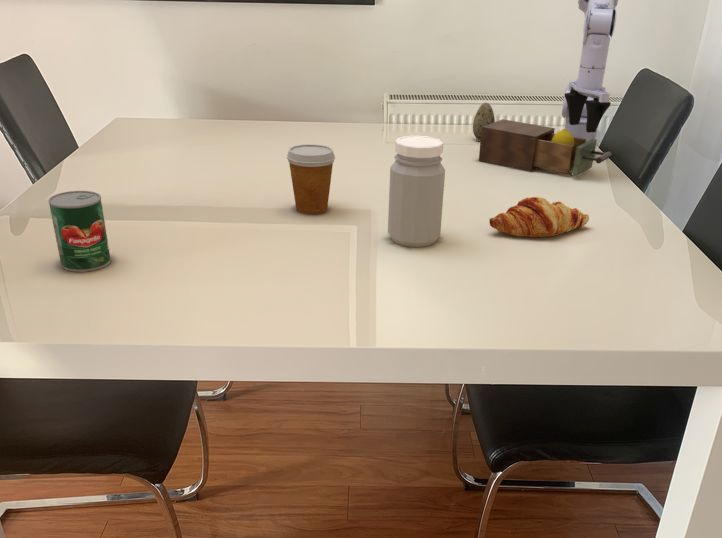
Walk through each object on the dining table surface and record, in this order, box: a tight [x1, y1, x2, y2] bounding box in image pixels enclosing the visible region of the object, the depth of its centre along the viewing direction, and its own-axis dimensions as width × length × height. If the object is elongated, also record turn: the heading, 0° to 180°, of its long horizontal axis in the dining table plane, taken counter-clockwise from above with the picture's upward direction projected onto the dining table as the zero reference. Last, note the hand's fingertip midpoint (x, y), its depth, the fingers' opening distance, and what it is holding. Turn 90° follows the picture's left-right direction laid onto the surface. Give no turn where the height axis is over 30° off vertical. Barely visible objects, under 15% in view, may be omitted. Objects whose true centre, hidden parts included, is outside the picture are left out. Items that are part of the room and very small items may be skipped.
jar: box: [387, 135, 446, 248], centre depth 136 cm, size 10×10×18 cm
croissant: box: [489, 196, 590, 238], centre depth 145 cm, size 21×10×8 cm, turn 108°
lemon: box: [551, 128, 574, 149], centre depth 181 cm, size 6×6×8 cm
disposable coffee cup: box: [286, 143, 336, 215], centre depth 150 cm, size 10×10×12 cm
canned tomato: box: [48, 190, 112, 273], centre depth 123 cm, size 8×8×11 cm
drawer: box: [533, 132, 613, 177], centre depth 181 cm, size 18×10×7 cm, turn 56°
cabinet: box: [478, 118, 556, 173], centre depth 187 cm, size 14×11×8 cm
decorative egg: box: [472, 102, 496, 142], centre depth 204 cm, size 6×6×10 cm
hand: (582, 128), depth 178 cm, fingers open, 7 cm apart
